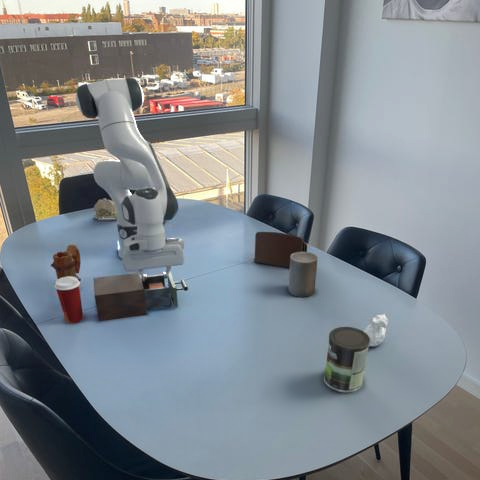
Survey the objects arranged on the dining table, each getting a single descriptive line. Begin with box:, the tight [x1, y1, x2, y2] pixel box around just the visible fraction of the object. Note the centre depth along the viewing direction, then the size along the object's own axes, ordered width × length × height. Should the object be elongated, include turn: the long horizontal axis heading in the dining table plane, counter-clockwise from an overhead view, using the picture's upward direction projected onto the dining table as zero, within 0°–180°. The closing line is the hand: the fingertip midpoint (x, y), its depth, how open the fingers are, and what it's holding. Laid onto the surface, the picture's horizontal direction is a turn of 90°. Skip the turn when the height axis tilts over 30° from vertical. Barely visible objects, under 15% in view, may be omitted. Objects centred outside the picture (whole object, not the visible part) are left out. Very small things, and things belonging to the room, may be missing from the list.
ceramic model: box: [93, 197, 118, 221], centre depth 241 cm, size 14×11×10 cm
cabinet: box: [92, 272, 148, 322], centre depth 157 cm, size 16×14×10 cm
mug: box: [50, 244, 82, 285], centre depth 170 cm, size 15×8×15 cm, turn 168°
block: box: [149, 282, 163, 289], centre depth 160 cm, size 5×5×5 cm
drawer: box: [141, 271, 189, 311], centre depth 160 cm, size 19×12×8 cm, turn 106°
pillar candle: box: [288, 251, 319, 298], centre depth 167 cm, size 10×10×15 cm
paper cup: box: [54, 276, 84, 324], centre depth 150 cm, size 8×8×14 cm
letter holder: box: [254, 231, 308, 269], centre depth 191 cm, size 10×20×14 cm, turn 69°
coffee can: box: [323, 326, 370, 394], centre depth 122 cm, size 10×10×14 cm
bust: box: [363, 313, 389, 348], centre depth 139 cm, size 12×8×11 cm
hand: (155, 279), depth 158 cm, fingers open, 6 cm apart
